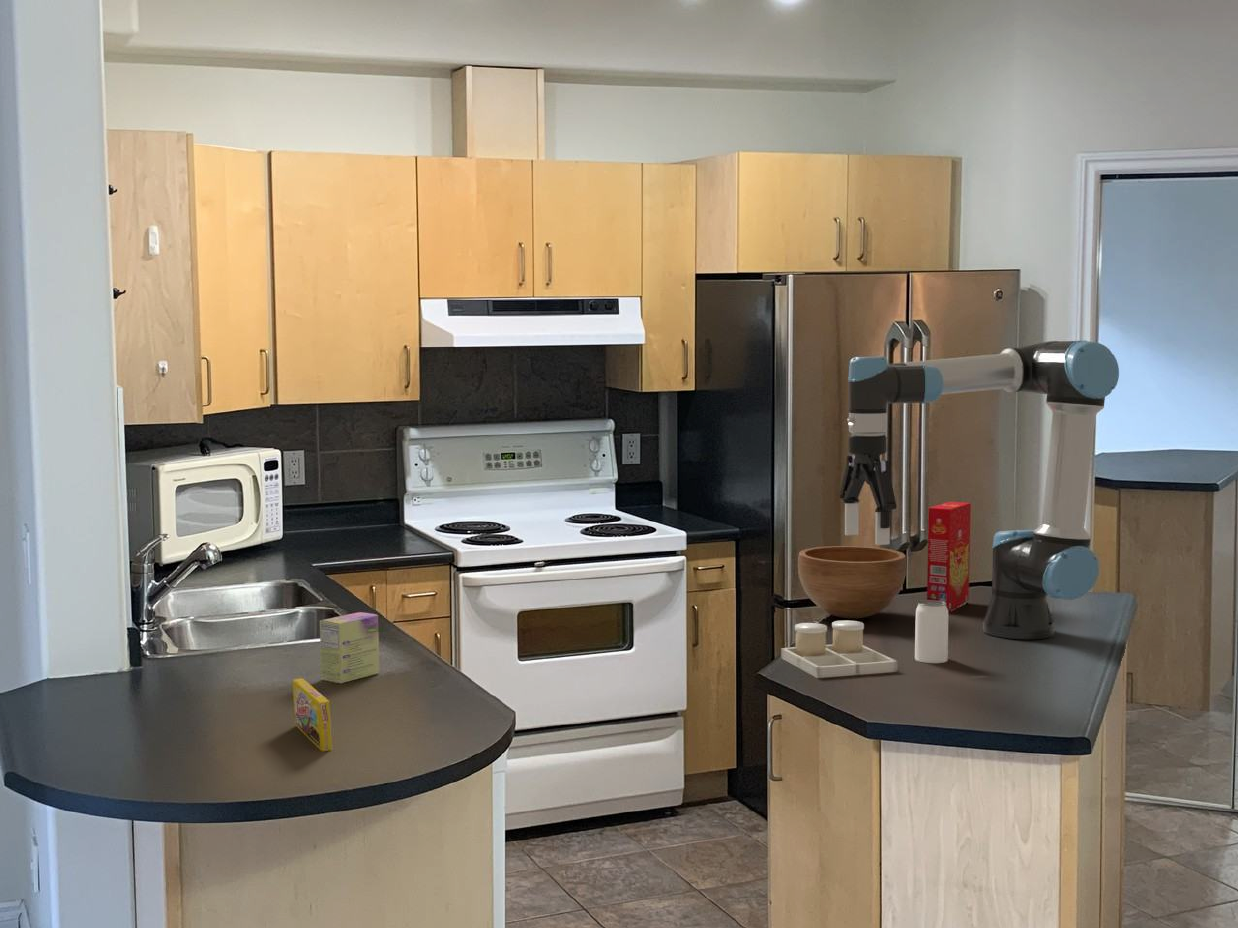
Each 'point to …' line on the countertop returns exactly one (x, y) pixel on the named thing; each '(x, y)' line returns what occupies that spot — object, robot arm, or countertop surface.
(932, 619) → the can
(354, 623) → the box
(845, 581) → the bowl
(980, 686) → the countertop surface
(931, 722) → the countertop surface
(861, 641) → the paper cup
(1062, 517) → the robot arm
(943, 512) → the food packaging
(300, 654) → the countertop surface
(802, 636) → the paper cup
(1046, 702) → the countertop surface
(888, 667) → the carrier
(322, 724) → the candy box
